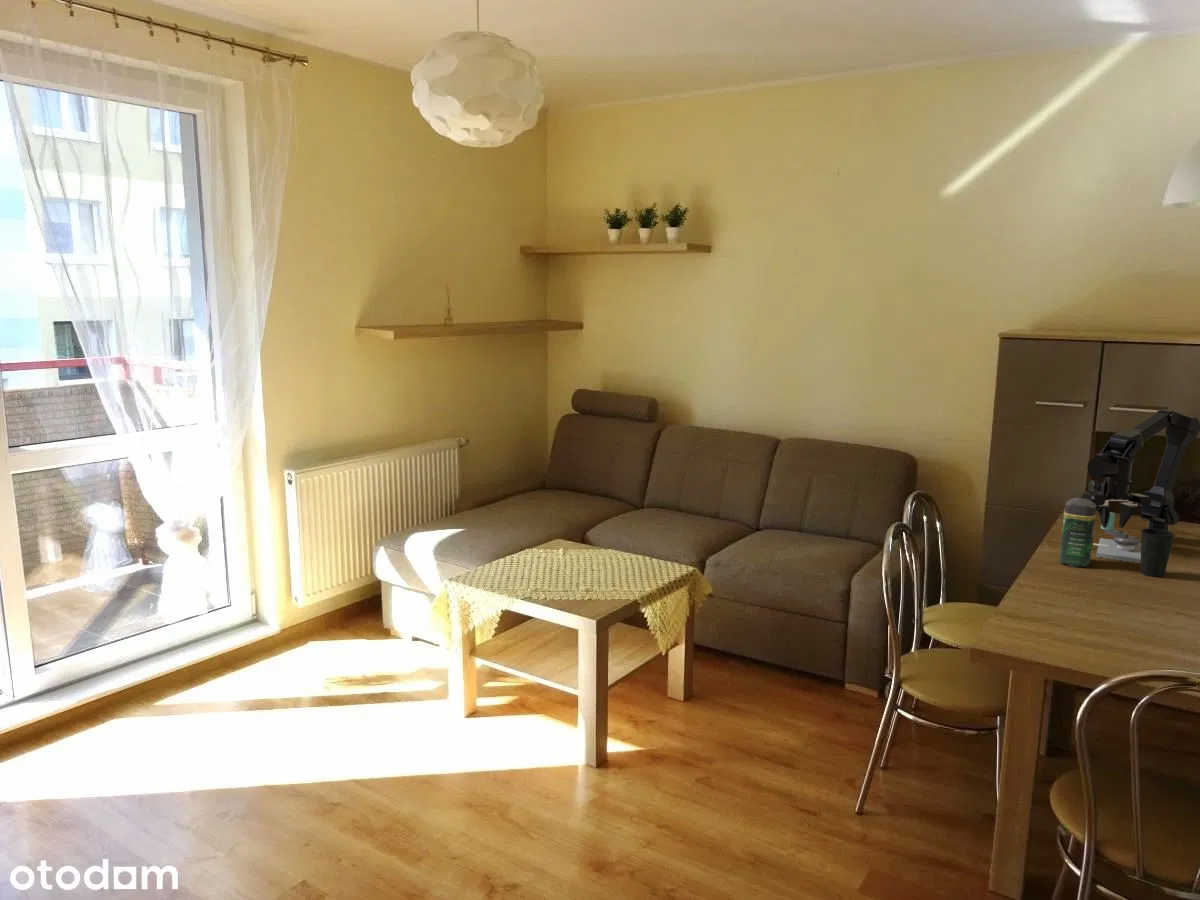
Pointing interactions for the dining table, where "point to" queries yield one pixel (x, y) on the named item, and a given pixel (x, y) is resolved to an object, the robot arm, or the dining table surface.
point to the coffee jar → (1077, 532)
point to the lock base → (1118, 551)
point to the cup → (1155, 551)
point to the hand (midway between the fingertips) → (1112, 527)
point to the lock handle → (1119, 533)
